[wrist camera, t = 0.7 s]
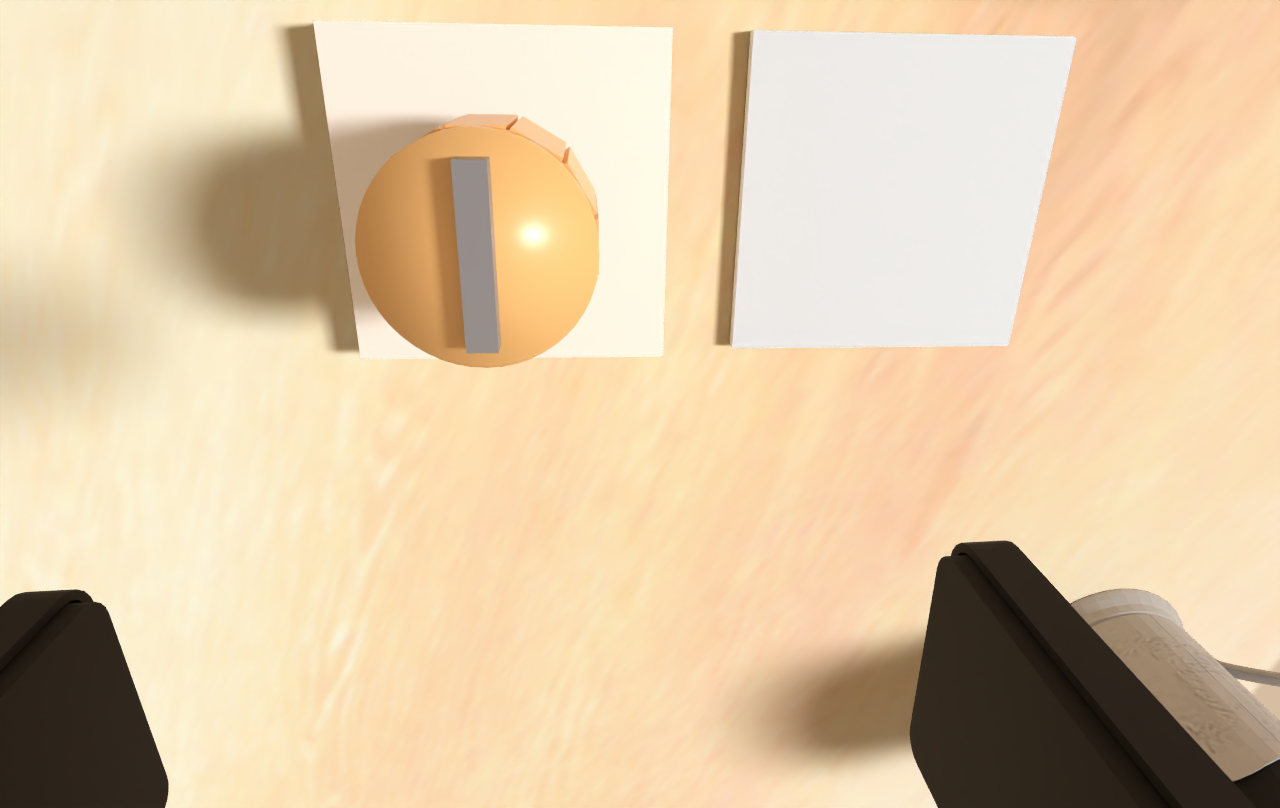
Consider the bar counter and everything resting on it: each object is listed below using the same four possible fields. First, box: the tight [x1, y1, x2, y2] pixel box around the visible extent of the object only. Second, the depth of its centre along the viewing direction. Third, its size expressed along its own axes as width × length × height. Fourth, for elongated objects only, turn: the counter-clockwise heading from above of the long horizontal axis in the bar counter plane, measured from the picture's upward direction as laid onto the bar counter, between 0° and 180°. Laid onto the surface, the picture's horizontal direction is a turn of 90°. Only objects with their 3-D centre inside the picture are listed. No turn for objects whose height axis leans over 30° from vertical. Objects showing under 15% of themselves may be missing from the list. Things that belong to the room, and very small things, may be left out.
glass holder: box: [1070, 589, 1280, 808], centre depth 35 cm, size 9×14×15 cm, turn 111°
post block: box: [313, 20, 673, 359], centre depth 26 cm, size 12×12×8 cm
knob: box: [355, 114, 600, 368], centre depth 23 cm, size 7×7×6 cm
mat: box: [730, 30, 1077, 348], centre depth 31 cm, size 12×12×1 cm
